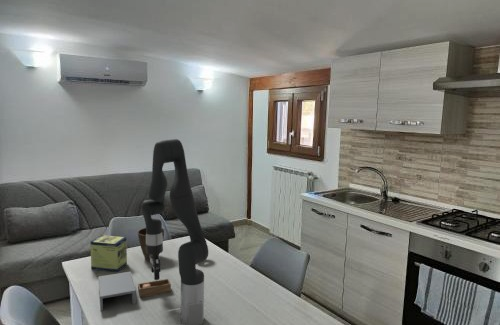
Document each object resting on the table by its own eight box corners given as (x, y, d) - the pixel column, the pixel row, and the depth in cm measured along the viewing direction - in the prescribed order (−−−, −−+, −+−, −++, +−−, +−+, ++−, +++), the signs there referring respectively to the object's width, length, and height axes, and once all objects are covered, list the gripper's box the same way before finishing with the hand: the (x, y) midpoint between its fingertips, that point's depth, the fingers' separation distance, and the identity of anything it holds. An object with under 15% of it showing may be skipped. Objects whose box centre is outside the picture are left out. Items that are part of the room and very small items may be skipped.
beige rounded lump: (143, 295, 160) (143, 287, 160) (142, 292, 164) (142, 284, 163) (151, 294, 162) (150, 286, 161) (149, 290, 165) (149, 283, 164)
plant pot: (138, 253, 209) (137, 227, 207) (163, 251, 214) (163, 226, 211) (138, 264, 195) (137, 236, 193) (165, 261, 199) (165, 234, 197)
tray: (170, 292, 165) (170, 283, 164) (139, 298, 159) (139, 289, 158) (168, 287, 170) (168, 278, 169) (138, 293, 164) (138, 283, 163)
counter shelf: (136, 304, 154) (135, 290, 153) (100, 311, 148) (99, 296, 147) (131, 284, 172) (130, 271, 171) (99, 289, 166) (98, 276, 165)
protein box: (117, 272, 185) (117, 243, 183) (90, 269, 187) (89, 241, 185) (127, 263, 195) (127, 237, 193) (101, 261, 197) (100, 234, 195)
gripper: (143, 238, 166) (145, 271, 168) (148, 248, 153) (149, 283, 155) (159, 236, 169) (160, 268, 171) (165, 246, 156) (166, 280, 158)
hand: (155, 275), depth 163 cm, fingers open, 8 cm apart
